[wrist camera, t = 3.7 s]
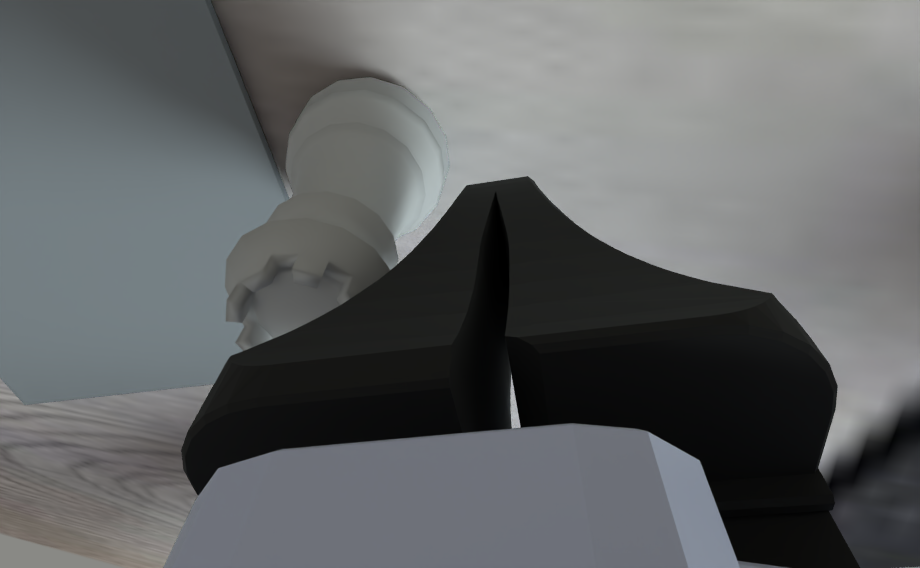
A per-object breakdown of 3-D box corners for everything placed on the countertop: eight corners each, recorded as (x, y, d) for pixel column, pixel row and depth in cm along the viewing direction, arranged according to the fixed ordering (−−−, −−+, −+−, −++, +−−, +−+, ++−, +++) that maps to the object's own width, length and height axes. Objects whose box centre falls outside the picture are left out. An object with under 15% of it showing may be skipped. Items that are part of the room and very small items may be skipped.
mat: (354, 363, 21) (352, 368, 21) (29, 399, 23) (24, 405, 23) (141, -174, 12) (134, -176, 12) (-364, -41, 14) (-380, -40, 14)
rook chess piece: (478, 120, 16) (473, 287, 9) (412, 241, 18) (369, 443, 11) (327, 40, 14) (196, 163, 8) (277, 179, 17) (145, 364, 10)
